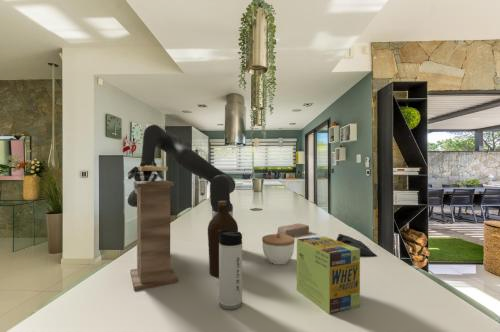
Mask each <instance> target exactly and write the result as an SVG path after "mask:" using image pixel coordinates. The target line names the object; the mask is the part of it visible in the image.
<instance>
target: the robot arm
mask: <svg viewBox="0 0 500 332" xmlns="http://www.w3.org/2000/svg"><path fill="white" fill-rule="evenodd" d="M156 148H157V149H160V150H161V151H163V152H165V153H166V154H167V155H169V156H170V157H171V158H172V159H173V160H174V161H175V163H176V164H178V165H179V166H180V167H181V168H183V169H184V170H185V171H187V172H189V173H190V174H193V175H195V176H197V177H200V178H202V179H204V180H206V181H207V182H209V183H210V184H209V197H210V200H209V201H210V205H211V219H212V218H213V217H214V216H215V215H216V214H217V213H218V205H219V203H218V201H227V205H228V213H229V214H230V215H231V216H232V217H233V218H234V214H233V213H234V204H232V202H231V195H230V194H232V193H234V191H235V189H236V182H235V179H234V178H233V177H232V176H231V175H229V174H227V173H226V172H224V171H222V170H220V169H218V168H217V167H216V166H214V165H212V163H210V162H208V161H207V160H206V159H205V158H204V157H202V156H201V155H200V154H198V153H197V152H195V151H194V150H193V149H191V148H190V147H188V146H186V145H184V144H182V143H180V142H178V141H176V140H175V138H173V137H172V136H171V135H170V134H169V133H168V132H167V131H166V130H164V129H163V128H162V127H160V126H159V125H158V124H150V125H147V126H146V127H145V129H144V131H143V135H142V149H141V150H142V151H141V160H140V163H139V166H134V167H133V168H132V169H130V170H129V171H128V172H127V179H128V180H132V179H134V181H157V178H159V179H161V180H162V179H164V172H163V171H140V170H138V167H145V166H155V167H158V166H157V162H156V161H155V157H156V155H155V153H156ZM127 204H128V205H129V206H130V207H131V208H132V207H133V208H137V186H135V185H134V184H133V190H132V191H131V192H130V193H129V195H128V197H127Z"/></svg>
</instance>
